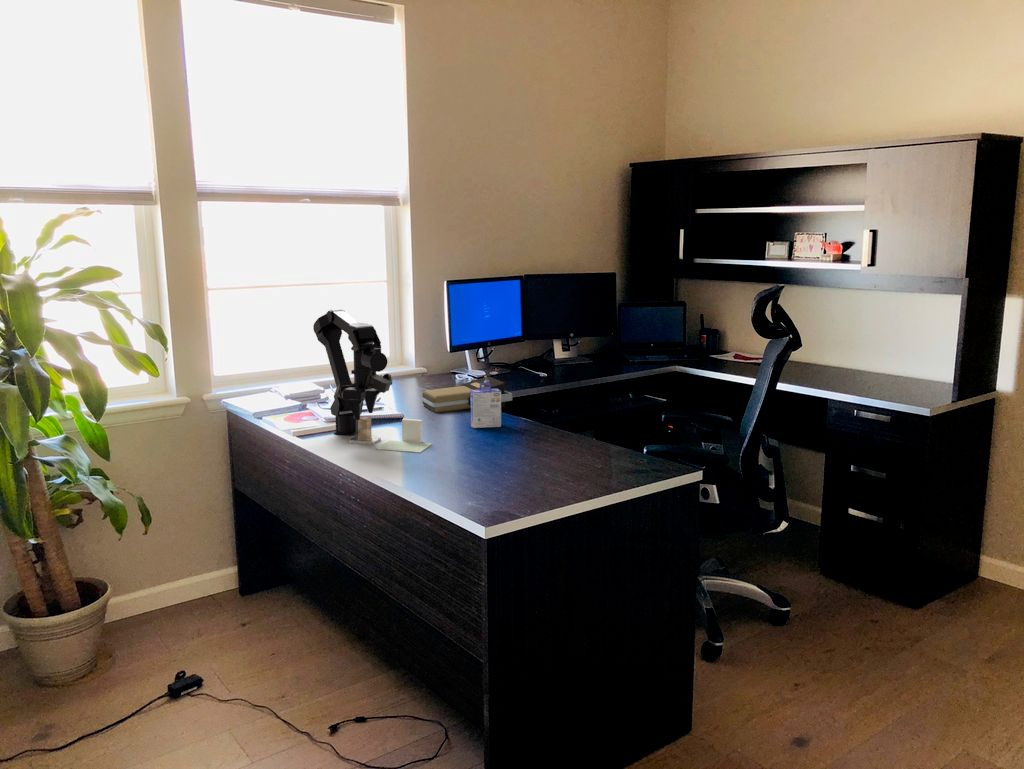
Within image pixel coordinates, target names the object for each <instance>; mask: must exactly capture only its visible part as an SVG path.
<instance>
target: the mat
mask: <svg viewBox="0 0 1024 769" xmlns="http://www.w3.org/2000/svg"><path fill="white" fill-rule="evenodd" d="M432 445H433V443H431V442H430V443H429V442H421V443H418V442H406V441H402V440H393V439H392V440H391V439H389V440H386V441H385V442H384V443H382V444H380V445H379V446H378V447H376V450H379V451H391V452H402V453H403V452H404V453H413V454H414V453H415V454H421V453H422V452H424V451H425V450H426V449H428V448H429V447H431V446H432Z"/></svg>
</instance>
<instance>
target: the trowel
mask: <svg viewBox="0 0 1024 769" xmlns="http://www.w3.org/2000/svg"><path fill="white" fill-rule="evenodd" d="M357 434H358V435H356V436H354V437H352V438H350V439H349V440H348V444H355V445H356V444H358V445H360V444H361V445H370V446H373V445H376V444H377V443H379V442H381V441H382V437H381V436H372V435H373V434H372V417H368V416H360V420H358V432H357Z"/></svg>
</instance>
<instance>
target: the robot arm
mask: <svg viewBox="0 0 1024 769" xmlns="http://www.w3.org/2000/svg"><path fill="white" fill-rule="evenodd" d="M313 332H314V333H315V336H316V339H317V340H318V342H319V343H321V345H322V346H324V349H325V351H326V354H327V358H328V361H329V362H328V363H329V365H330V368H331V373H332V376H333V379H334V382H335V386H336V388H335V391H334V394H333V399H334V400H333V402H332V404H331V405H330V408H329V409H330V414H331V415H332V416H334V417H335V431H334V432H333V434H334V435H344V436H353V435H355V434H358V420H360V418H361V415H362V412H363V405H364V403H365V406H366V408H367V412H368V414H373V412H374V409H375V405H376V400H377V397H378V396H379V394H381V393H383V394H385V393H386V392H388V391H390V387H391V386H392V385H393V379H392V375H391V374H390V373H387V372H386V373H385V374H384V375H379V374H377V372H383V371H384V370H385V369H386V368H387V365H388V358H387V356H386V354H385V353H383V352H382V345H381V343H382V342H381V340H380V337H379V335H378V333H377V330H376V329H375V327H374V326H373V325H372V324H369V323H364V322H360V321H357V320H356V319H355V318H354V317H352V316H351V315H349V314H348V313H347V312H346V310H344V309H342V308H340V309H339V308H337V309H329V310H328V311H327V312H326V314H324V315H321V316H319V317H318V318H317V319H316V321H314V323H313ZM343 332H345V333H346V334H347V335H348V336H347V338H348V339H347V340H349V341H350V343H351V345H352V347H350V350H351V351H353V369H351V371H350V372H351V374H350V373H349V370H348V366H347V363H346V360H345V356H344V353H343V348H342V346H341V343H340V342H341V341H340V340H341V338H342V335H343ZM350 375H353V382H352V380H351V378H350V377H351V376H350Z"/></svg>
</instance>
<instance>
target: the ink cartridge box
mask: <svg viewBox="0 0 1024 769" xmlns="http://www.w3.org/2000/svg"><path fill="white" fill-rule="evenodd" d="M482 385H489V387H482ZM470 393H471V408H470V426H471V428H472V429H480V428H501V427H502V407H501V391H500V390H499V389H491V385H490V383H480V390H470Z"/></svg>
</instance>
